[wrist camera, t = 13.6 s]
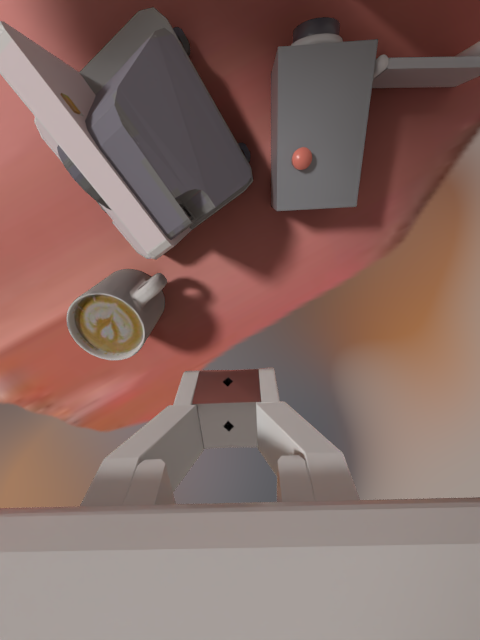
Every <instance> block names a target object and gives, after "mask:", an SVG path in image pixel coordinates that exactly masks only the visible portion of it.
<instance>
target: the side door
mask: <svg viewBox="0 0 480 640" xmlns="http://www.w3.org/2000/svg"><path fill="white" fill-rule="evenodd" d="M478 76H480V41H479V42H477V43H476V44H474V45H472V46H471V47H469V48H467V49H466V50H464V51H462V52H461V53H459V54H457V55H456V56H454V57H405V58H388V57H387V56H386V55H381V56H379V57H378V58H377V59H376V60H375V67H374V75H373V83H372V88H417V87H456V86H458V85H460V84H463V83H465V82H467V81H469V80H472V79H474V78H476V77H478Z"/></svg>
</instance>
